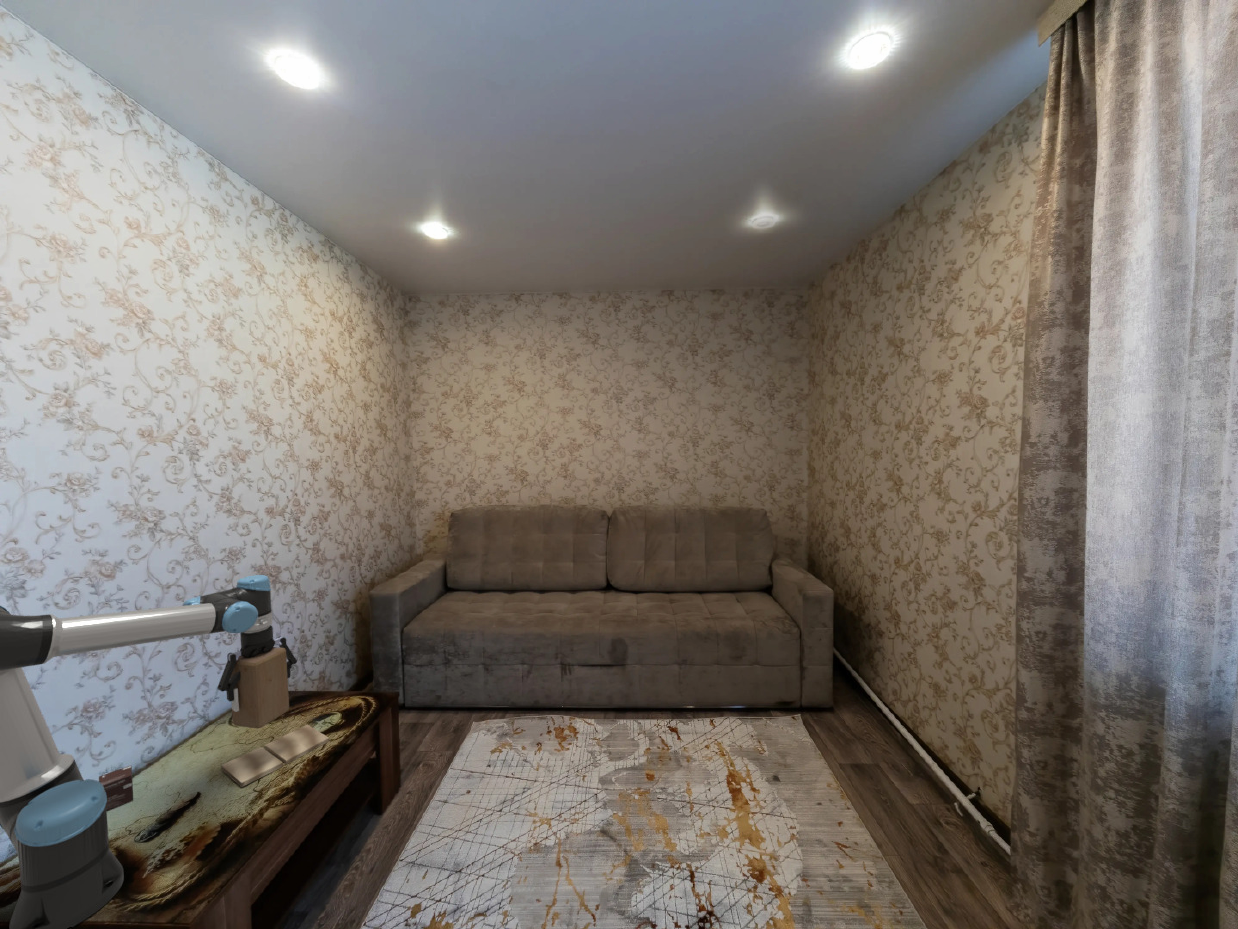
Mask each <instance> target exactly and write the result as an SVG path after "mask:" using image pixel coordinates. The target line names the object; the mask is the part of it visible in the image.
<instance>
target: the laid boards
mask: <svg viewBox="0 0 1238 929" xmlns="http://www.w3.org/2000/svg"><path fill="white" fill-rule="evenodd" d="M329 742H330V738H329V737H328V736H327V735H325V734H324V733H322V732H321V731H318V730H317V729H315V728H314V727H313V726H311V725H309V724H305V725H303V726H301V727H298V728H296V729H295V730H292V731H291V732H288V733H287V734H284V735H283V736H281V737H279V738H276V739H274V740H273V741H270V742H268V743H267V744H265V745H264V749H265V750H267V751H268V752H269V753H271V754H272V755H273V756H275V757H276V758H277V759H279V760H280V761H281V762H283V763H284V764H285V765H289V764H290V763H292V762H294V761H296V760H298V759H300V758H301V757H303V756H305V755H307V754H309V753H311V752H312V751H315V750H316V749H318V748H320V747H321V746H324V745H325V744H327V743H329Z"/></svg>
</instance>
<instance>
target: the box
mask: <svg viewBox="0 0 1238 929" xmlns="http://www.w3.org/2000/svg"><path fill="white" fill-rule="evenodd" d="M132 767H133V766H132V765H128V766H125V767H122V768H118V769H116V770H113V771H111V772H108V773H106V774H103V775H99V777H98V781H99V782H100V783H101V784H102V785H103V787H104V790H105V792H106V796H107V803H106V811H107V812H108V811H111V810H114V809H116V808H119V807H122V806H123V805H125V804H128V803H131V802H133V801H134V784H133V782H134V781H133V769H132Z"/></svg>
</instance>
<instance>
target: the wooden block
mask: <svg viewBox="0 0 1238 929" xmlns="http://www.w3.org/2000/svg"><path fill="white" fill-rule="evenodd" d="M287 662H288V659H287V658H286V650H285V648H280V647H278V646H277V647H275V646H274V647H273V648H272V651H269V652H267V653H266V652H264V653H261V654H258V655H256V657H252V658H245V657H243V656H241V655H240V656H239V658H238V660H236V664H235V667H234V670H233V672H232V675H231V677H232V676H233V674H235V673H237V672H239V671H240V673H241V678H240V680H239V681H238V683H237V685H236V686H235V687H236V688H237V689H238V702H239V711H237V712H235V711H233V710H232V709H231V711H232V714H231V715H232V716H231V717H232V724H233V725H234V726H236V727H237V726H238V727H243V728H250V729H251V728H252V729H261V728H263V727H265V726H266V725H267V724H269V723H271V722H272V721H274V720H276V719H277V718H279V717H280V716H282V715H284V714H285V713H287V712H288V711H289V709H290V699H289V696H290V695H289V681H288V679H289V678H287ZM230 679H231V678H230Z"/></svg>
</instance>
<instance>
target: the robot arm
mask: <svg viewBox="0 0 1238 929" xmlns="http://www.w3.org/2000/svg"><path fill="white" fill-rule="evenodd" d="M271 592H272V588H271V582H270V578H269V577H268V576H267V575H264V574H256V575H249V576H244V577H242V578H240V579H238V580H237V582H236V587H233V588H229V589H226V590H222V591H217V592H213V593H209V594H204V595H199V596H196V597H193V598H189V599H186V600H185V601H184V602H183V604H182V605H179V606H178V605H177V606H169V607H160V608H159V607H158V608H149V609H140V610H132V611H131V610H129V611H119V612H109V613H100V614H92V615H91V614H90V615H89V614H88V615H79V616H72V617H63V618H61V617H60V618H59V617H57V616H55V615H53V614H51V613H50V614H41V615H40V614H38V615H18V614H17V615H16V614H11V612H10V611H9V610H8V609H7V608H6V607H5V606H2V605H0V827H1V829H2V830H4V832H5V834H6V835H7V837H8V839H9V841H10V842H11V844H12V846H13V847H14V849H15V852H16V854H17V857H18V866H19V867H18V868H19V876H20V877H19V879H20V886H21V888H20V889H21V891H20V894H19V897H18V899H17V902H16V905H15V907H14V910H13V913H12V916H11V918H10V921H9V929H67V928H69V927H72V928H74V927H76V926H77V925H79V924H80V923H82V922H84V921H85V920H87V919H88V918H90V917H92V915H95V913H97V912H98V911H99V910H101V909H102V908H103V907H104V906H106V905H107V904H108V903H109V902H110V901H111V900H112V899H113V897H115V896H116V895H117V893H118V892H119V891H120V889H121V888H122V885H123V883H124V880H125V878H124V877H125V876H124V867H123V865H122V863H120V861H119V860H118V858H117V857H116V855H115V854H114V853H113V851H112V850H111V849H110V843H109V828H108V826H109V825H108V815H107V813H108V811H106V803H107V796H106V792H105V790H104V787H103V785H102V784H101V783H100V782H99V780H96V779H93V778H92V779H89V778H87V779H84V778H83V776H82V773H81V772H80V771H81V770H80V769H79V767H78V764H77V762H76V760H75V757H74V756H73V754H69V753H65V754H64V753H60V752H59V750H58V747H57V745H56V742H55V740H54V737H53V735H52V734H51V731H50V729H49V726H48V725H47V722H46V720H45V718H44V715H43V713H42V711H41V710H42V709H40V706H39V703H38V701H37V699H36V697H35V695H34V693H33V690H32V688H31V686H30V683H29V681H28V679H27V677H26V675H25V672H24V670H23V668H27V667H32V666H40V665H45V664H46V663H47V662H49V661H51V659H52V660H53V658H57V657H62V656H63V657H64V656H70V655H76V654H83V653H90V652H96V651H101V650H102V651H103V650H109V649H111V650H112V649H117V648H122V647H123V648H124V647H129V646H137V645H142V644H149V643H156V642H162V641H171V640H176V639H177V640H178V639H183V638H189V637H195V636H196V637H197V636H203V635H209V634H216V633H223V632H226V633H229V634H240V646H241V647H240V650H239V651H236V652H229V653H227V654H226V655H227V656H226V657H227V659H226V660H227V661H226V663H225V666H224V669H223V671H222V675H221V677H220V679H219V682H218V684H217V690H219V691H220V692H222V693H224V692H226V700H227V701H228V702H231V711H232V710H233V711H235V712H237V711H239V702H238V689H237V688H236V687H235V686H236V685H237V683H238V681H239V680H240V678H241V673H240V671H239V672H237V673H235V674H233V676H232V677H231V675H232V672H233V670H234V667H235V664H236V660H238V658H239V656H240V655H241V656H243V657H245V658H252V657H256V655H258V654H261V653H264V652H266V653H267V652H269V651H272V648H273V647H275V645H276V646H279V648H285V650H286V660H287V678H288V679H290V677H291V669H292V667H293V665H296V664H297V663H298V660H297V659H296V657H295V655H294V654H293V652H292V651H291V649H290V647H289V646H288V644H287V638H286V637H284V636H281V635H279V636H278V637H277V638H275V639H274V630H273V629H274V627H273V625H272V624H273V614H272V612H273V611H272V599H271V598H272V594H271ZM230 678H231V679H230Z"/></svg>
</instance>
